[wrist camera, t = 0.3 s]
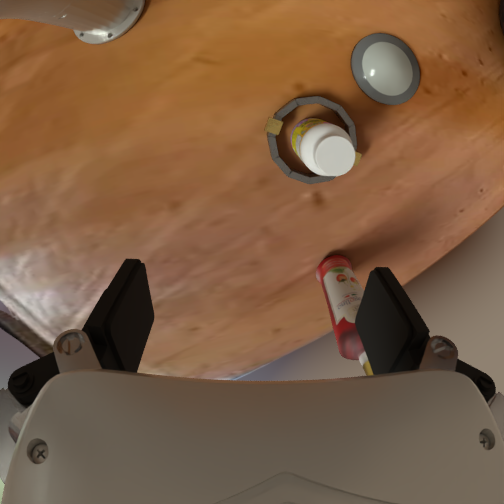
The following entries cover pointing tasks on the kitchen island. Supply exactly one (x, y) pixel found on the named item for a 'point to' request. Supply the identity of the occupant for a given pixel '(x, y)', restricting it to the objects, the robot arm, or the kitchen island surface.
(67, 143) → the kitchen island surface
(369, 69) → the coaster
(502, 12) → the jug
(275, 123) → the collar
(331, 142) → the supplement bottle
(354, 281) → the liquor
